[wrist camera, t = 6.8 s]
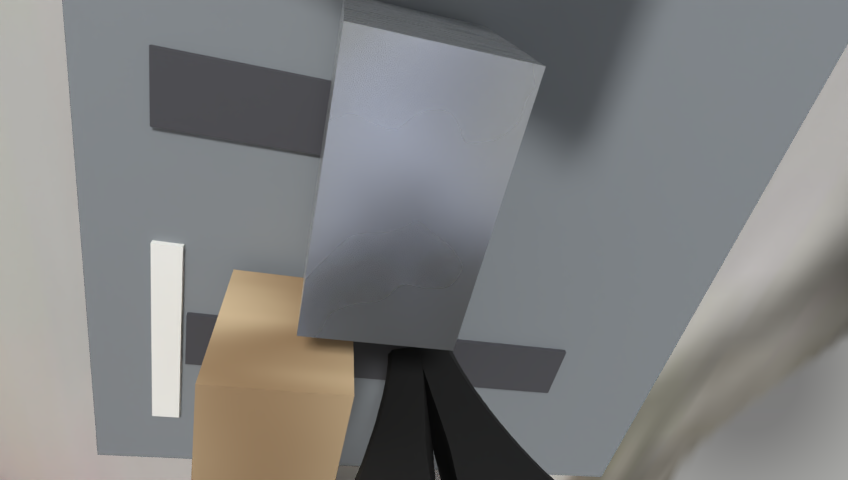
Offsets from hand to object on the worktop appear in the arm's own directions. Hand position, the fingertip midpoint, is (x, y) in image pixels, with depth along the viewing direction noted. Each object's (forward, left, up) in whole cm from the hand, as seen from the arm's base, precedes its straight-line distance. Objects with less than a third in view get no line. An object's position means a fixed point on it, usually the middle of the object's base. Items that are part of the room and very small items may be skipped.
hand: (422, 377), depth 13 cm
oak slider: (+3, 0, 0) cm, 3 cm away
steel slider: (+2, -6, 0) cm, 6 cm away
